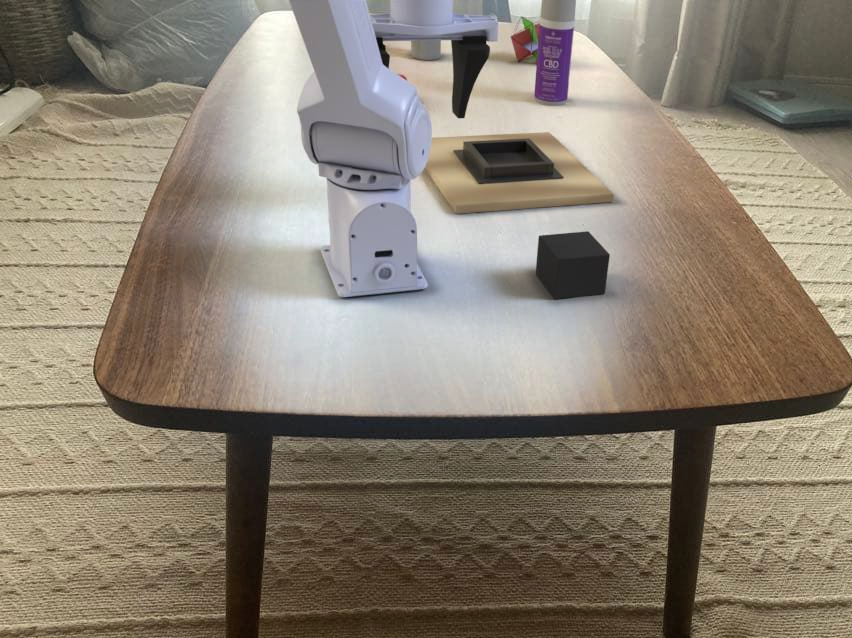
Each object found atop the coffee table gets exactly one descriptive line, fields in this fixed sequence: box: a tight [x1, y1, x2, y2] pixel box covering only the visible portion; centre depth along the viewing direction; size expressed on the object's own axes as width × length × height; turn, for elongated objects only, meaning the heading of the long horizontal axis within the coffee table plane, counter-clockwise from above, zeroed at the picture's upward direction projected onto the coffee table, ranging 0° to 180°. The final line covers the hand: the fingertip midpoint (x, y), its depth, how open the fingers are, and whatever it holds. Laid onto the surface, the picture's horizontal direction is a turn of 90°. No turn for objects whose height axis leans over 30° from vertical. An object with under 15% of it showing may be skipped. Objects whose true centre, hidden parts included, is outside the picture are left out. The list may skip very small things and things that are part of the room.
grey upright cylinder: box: [410, 40, 442, 61], centre depth 142 cm, size 4×4×10 cm
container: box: [533, 0, 577, 107], centre depth 127 cm, size 5×5×15 cm
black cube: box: [535, 230, 611, 300], centre depth 85 cm, size 5×5×4 cm
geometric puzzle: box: [510, 15, 540, 65], centre depth 145 cm, size 7×7×8 cm
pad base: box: [424, 131, 614, 215], centre depth 107 cm, size 20×18×2 cm
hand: (421, 116), depth 92 cm, fingers open, 7 cm apart
